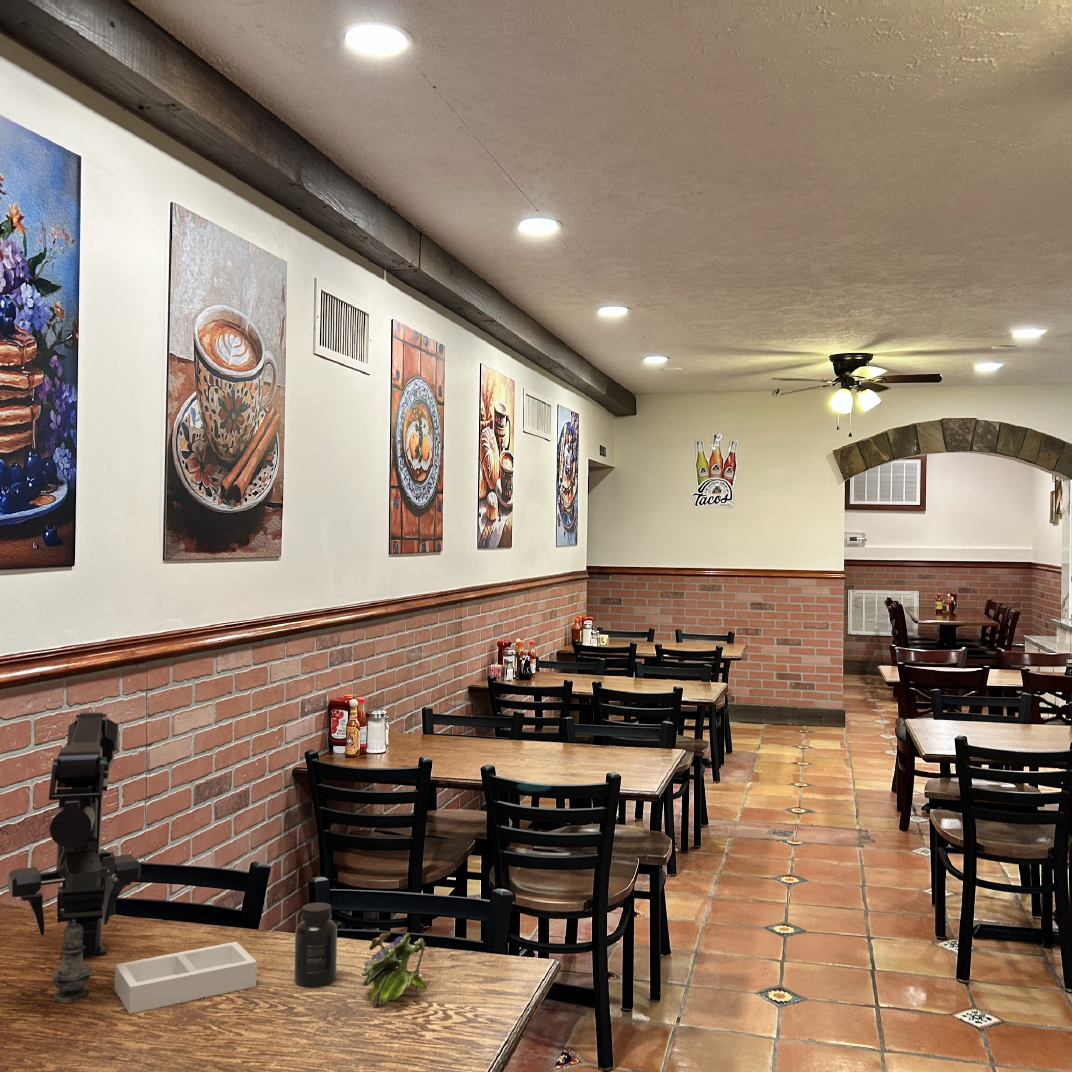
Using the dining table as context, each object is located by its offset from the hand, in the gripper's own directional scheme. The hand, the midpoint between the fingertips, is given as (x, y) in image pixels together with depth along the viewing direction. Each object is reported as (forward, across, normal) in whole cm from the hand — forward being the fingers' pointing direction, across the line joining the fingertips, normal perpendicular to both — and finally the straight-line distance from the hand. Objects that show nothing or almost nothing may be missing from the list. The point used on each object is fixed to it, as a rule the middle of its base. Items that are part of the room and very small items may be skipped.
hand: (73, 929), depth 161 cm
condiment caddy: (+10, +16, -7) cm, 20 cm away
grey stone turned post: (+10, 0, 0) cm, 11 cm away
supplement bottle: (+10, +35, -14) cm, 39 cm away
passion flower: (+10, +44, -26) cm, 52 cm away
